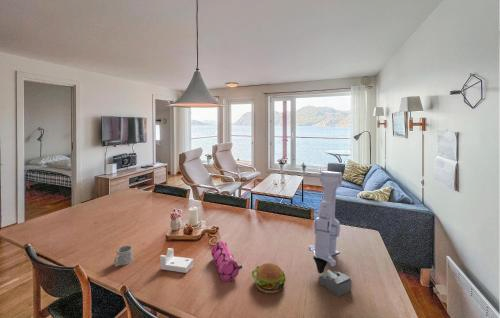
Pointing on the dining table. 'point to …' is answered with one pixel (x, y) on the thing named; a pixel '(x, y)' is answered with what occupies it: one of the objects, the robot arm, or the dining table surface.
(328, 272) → the white rectangular block
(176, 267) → the bracket
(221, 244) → the pencil case
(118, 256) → the mug
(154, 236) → the dining table surface
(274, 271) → the food
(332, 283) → the endcap
